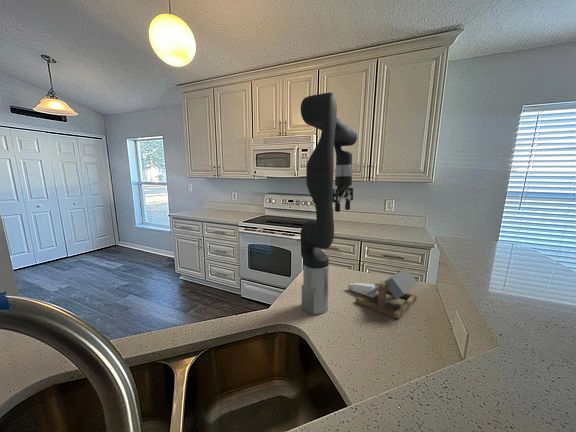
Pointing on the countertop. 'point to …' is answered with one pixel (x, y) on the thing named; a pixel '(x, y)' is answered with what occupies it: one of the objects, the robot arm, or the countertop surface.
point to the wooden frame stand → (382, 301)
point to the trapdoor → (398, 283)
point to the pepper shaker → (362, 288)
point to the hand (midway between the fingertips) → (342, 210)
